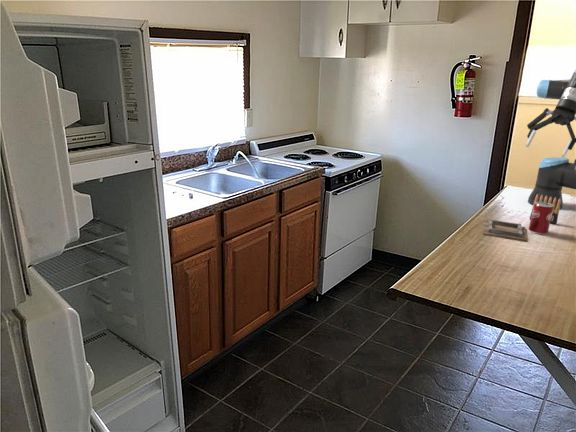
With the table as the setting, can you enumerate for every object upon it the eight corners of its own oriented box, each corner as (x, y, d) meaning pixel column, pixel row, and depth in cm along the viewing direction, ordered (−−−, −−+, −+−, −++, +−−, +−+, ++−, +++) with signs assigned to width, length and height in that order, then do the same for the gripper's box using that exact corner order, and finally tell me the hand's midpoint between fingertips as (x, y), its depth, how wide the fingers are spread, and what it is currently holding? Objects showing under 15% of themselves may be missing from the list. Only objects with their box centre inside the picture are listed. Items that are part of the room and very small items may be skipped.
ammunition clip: (556, 224, 208) (563, 198, 204) (555, 225, 207) (562, 198, 203) (530, 218, 214) (535, 192, 210) (529, 219, 213) (534, 193, 209)
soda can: (528, 233, 197) (534, 205, 193) (527, 227, 203) (533, 200, 199) (548, 236, 194) (555, 208, 190) (546, 230, 200) (553, 203, 196)
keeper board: (484, 222, 207) (484, 217, 206) (524, 228, 201) (525, 223, 200) (483, 234, 193) (484, 229, 192) (526, 241, 187) (527, 236, 186)
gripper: (536, 90, 190) (511, 138, 191) (605, 105, 175) (578, 157, 176) (538, 99, 196) (514, 145, 197) (605, 114, 181) (579, 164, 182)
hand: (544, 151), depth 186 cm, fingers open, 13 cm apart
